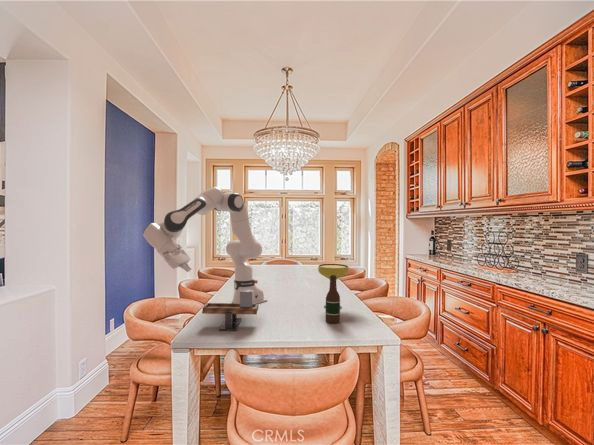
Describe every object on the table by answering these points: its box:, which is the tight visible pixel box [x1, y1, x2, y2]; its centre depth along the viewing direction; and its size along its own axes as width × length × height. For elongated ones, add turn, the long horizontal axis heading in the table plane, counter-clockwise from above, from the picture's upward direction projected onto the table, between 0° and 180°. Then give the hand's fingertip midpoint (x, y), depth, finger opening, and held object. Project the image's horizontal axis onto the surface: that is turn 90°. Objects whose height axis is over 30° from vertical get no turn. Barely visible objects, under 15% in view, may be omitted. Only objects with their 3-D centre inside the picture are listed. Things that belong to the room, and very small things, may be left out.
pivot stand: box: [218, 312, 243, 332], centre depth 166 cm, size 8×17×8 cm, turn 1°
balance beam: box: [201, 302, 259, 315], centre depth 166 cm, size 26×10×3 cm, turn 91°
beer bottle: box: [325, 275, 341, 325], centre depth 173 cm, size 8×8×24 cm
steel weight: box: [240, 289, 254, 308], centre depth 165 cm, size 6×5×9 cm
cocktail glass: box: [317, 263, 349, 310], centre depth 201 cm, size 18×18×25 cm
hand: (189, 270), depth 165 cm, fingers closed
